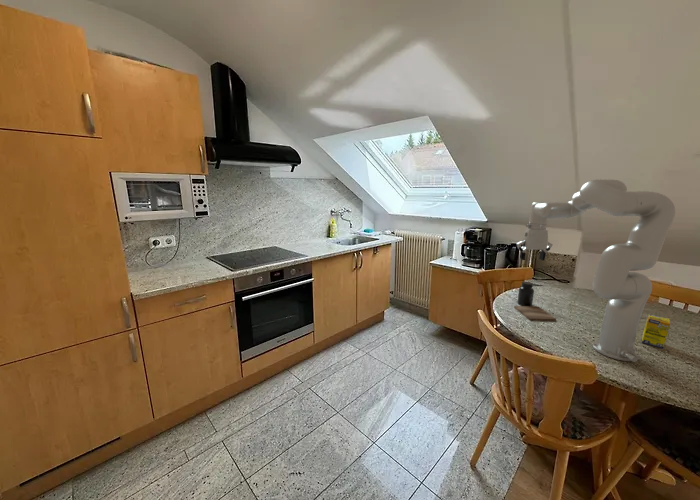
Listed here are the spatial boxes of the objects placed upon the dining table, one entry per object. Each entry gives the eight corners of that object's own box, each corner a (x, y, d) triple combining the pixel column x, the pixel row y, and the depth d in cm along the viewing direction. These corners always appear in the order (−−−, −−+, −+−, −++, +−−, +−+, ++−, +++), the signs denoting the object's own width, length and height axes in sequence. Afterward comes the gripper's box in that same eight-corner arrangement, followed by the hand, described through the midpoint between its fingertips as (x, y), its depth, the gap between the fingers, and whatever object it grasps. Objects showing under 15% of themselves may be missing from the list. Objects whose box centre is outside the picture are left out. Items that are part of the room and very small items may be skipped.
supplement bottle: (527, 301, 153) (531, 281, 151) (534, 307, 147) (538, 285, 144) (514, 301, 154) (517, 280, 151) (520, 306, 147) (524, 284, 145)
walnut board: (555, 320, 132) (556, 318, 131) (529, 320, 132) (530, 318, 132) (537, 308, 145) (538, 306, 145) (514, 307, 146) (514, 305, 146)
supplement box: (641, 343, 113) (648, 318, 111) (641, 337, 117) (648, 313, 115) (663, 349, 109) (670, 323, 107) (662, 343, 113) (669, 318, 111)
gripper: (523, 227, 138) (518, 261, 142) (559, 228, 137) (554, 261, 141) (515, 225, 145) (511, 257, 149) (550, 226, 144) (544, 258, 148)
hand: (531, 259), depth 145 cm, fingers open, 9 cm apart
